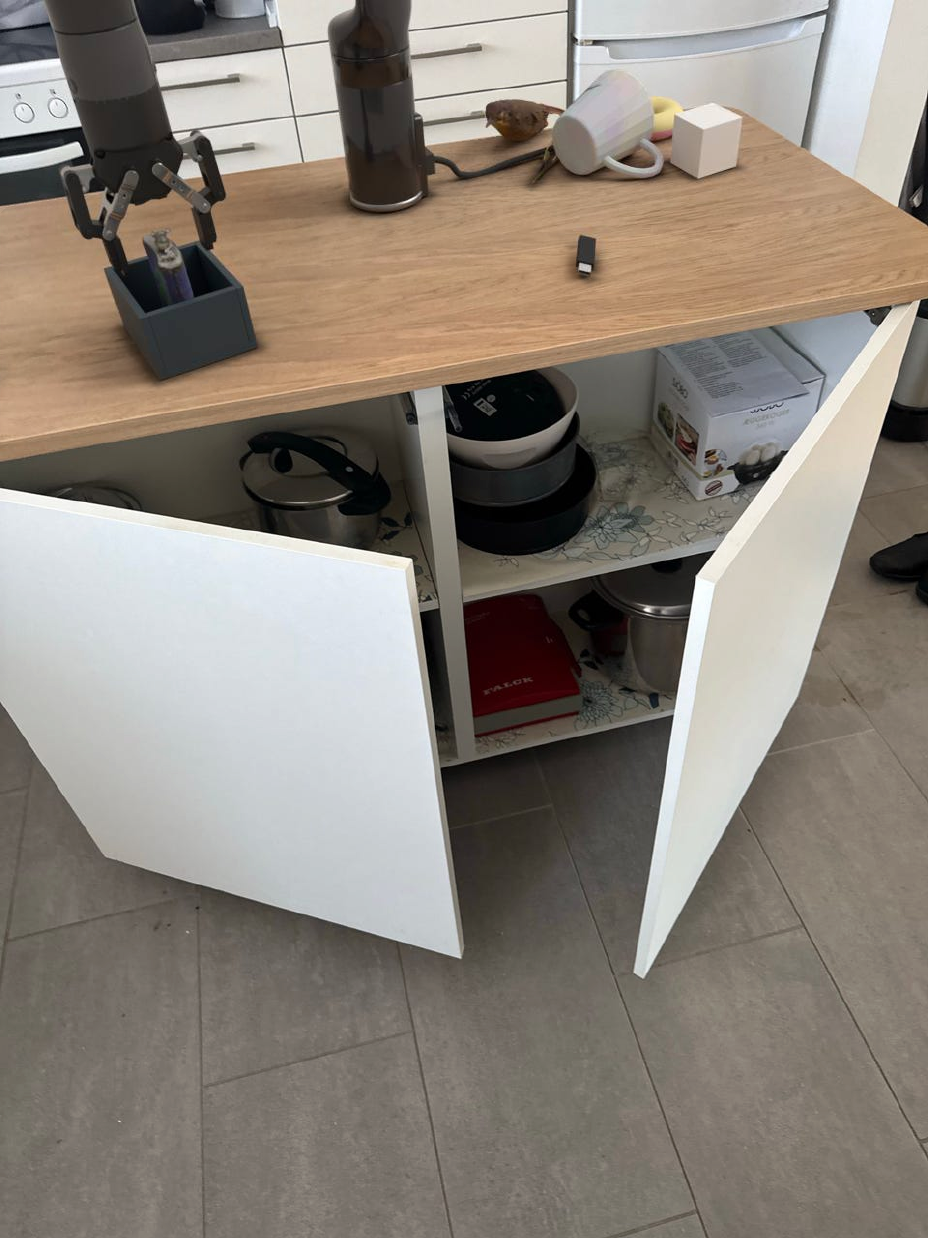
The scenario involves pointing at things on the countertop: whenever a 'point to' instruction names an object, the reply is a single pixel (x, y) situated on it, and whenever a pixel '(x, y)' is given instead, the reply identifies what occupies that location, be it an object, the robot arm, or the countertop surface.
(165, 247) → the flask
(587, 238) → the usb flash drive
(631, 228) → the countertop surface
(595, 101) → the mug
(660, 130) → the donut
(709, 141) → the white cube
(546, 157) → the brown clothespin
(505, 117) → the bird sculpture
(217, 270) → the box
